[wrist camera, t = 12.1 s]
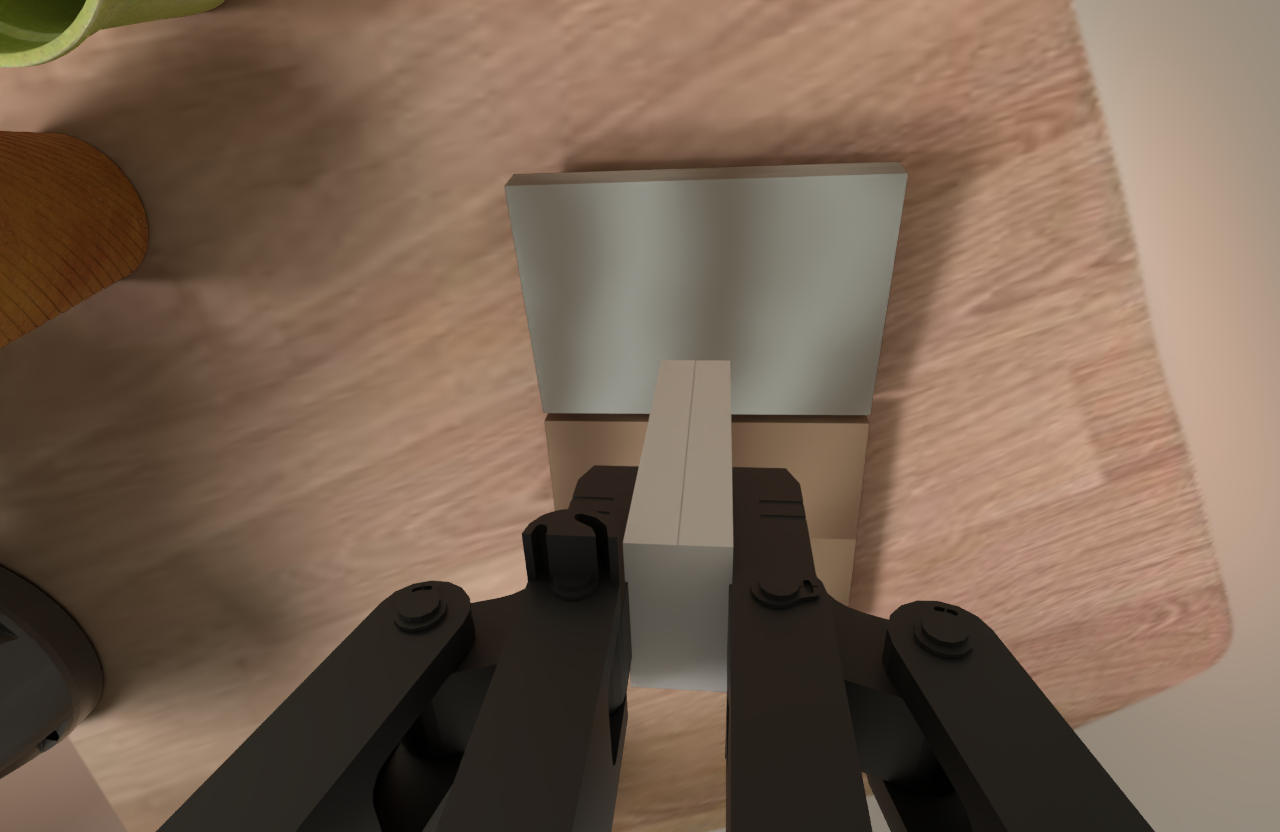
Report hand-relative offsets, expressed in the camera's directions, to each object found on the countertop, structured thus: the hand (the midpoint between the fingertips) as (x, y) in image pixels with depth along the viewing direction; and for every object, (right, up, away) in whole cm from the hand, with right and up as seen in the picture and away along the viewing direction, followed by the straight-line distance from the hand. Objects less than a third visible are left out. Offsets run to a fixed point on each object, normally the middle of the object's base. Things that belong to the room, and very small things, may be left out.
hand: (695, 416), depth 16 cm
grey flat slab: (+1, +5, +13) cm, 14 cm away
